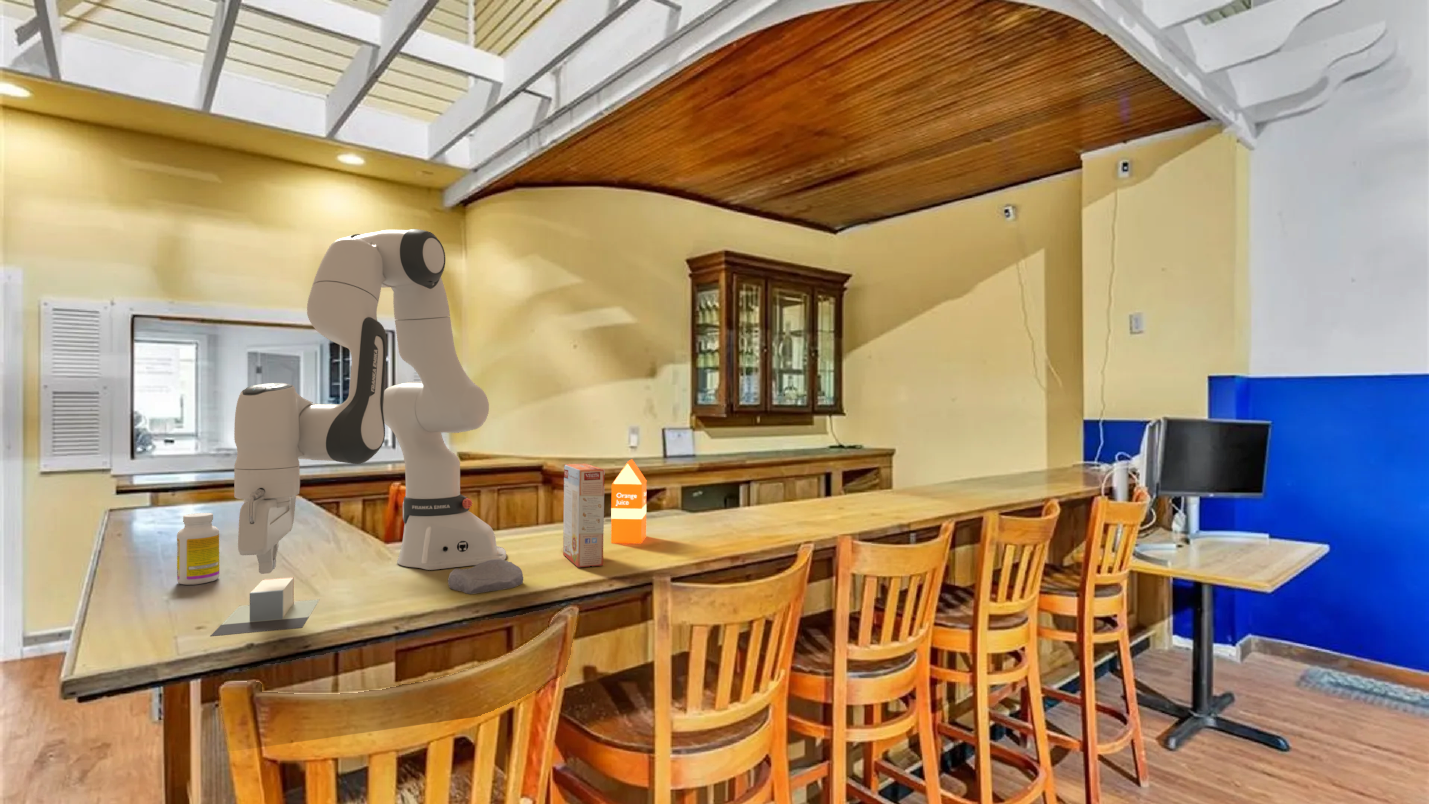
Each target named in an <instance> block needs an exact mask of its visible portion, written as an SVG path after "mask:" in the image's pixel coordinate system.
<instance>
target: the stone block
mask: <svg viewBox="0 0 1429 804" xmlns="http://www.w3.org/2000/svg"><path fill="white" fill-rule="evenodd" d="M448 575H449V576H448V579H447V584H448V586H449V589H450V590H454V591H458V592H463V593H465V594H466V595H467V594H468V595H474V594H481V593H482V594H483V593H488V592H494V591H495V592H497V591H501V590H507V589H513V588H516V587H518V586H521V585H523V582H524V574H523V570H522V568H520V566H518V565H516V564H514V563H513V562H512V561H508V560H506V559H504V560H501V559H493V560H488V561H486V562H483V563H479V564H477V565H473V566H472V567H471V568H461V569H460V568H459V567H456V568H454V569H453V570H452V571H451V572H450V573H449V574H448Z"/></svg>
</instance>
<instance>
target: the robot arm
mask: <svg viewBox="0 0 1429 804" xmlns="http://www.w3.org/2000/svg"><path fill="white" fill-rule="evenodd" d="M445 268H446V252H445V249H444V247H443V244H442V242H441V241H440V240H439V239H438V238H437V236H436V235H435V234H434V233H433V232H431V231H427V230H424V229H416V228H412V229H411V228H410V229H383V230H380V231H374V232H368V233H363V234H359V233H356V234H352V235H349V236H345V237H341V238H339V239H336V240H335V241H333V242H332V243H331V244H330V245H329V247H328V249H327V251H326V252H325V254H324V256H323V258H322V260H321V262H320V264H319V266H318V268H317V271H316V273H315V276H314V279H313V282H312V286H311V289H310V292H309V295H308V299H307V306H306V315H307V319H308V320H309V322H310V324H311V326H312V327H313V328H314V329H315V330H316V331H317V332H318V333H319V334H320V335H321V336H322V337H324V338H326V339H327V340H329V341H330V342H331V341H332V342H333V343H335V344H337V345H339V346H341V347H343V348H347V349H348V350H349V351H350V355H351V368H350V377H349V378H350V380H349V390H348V396H347V398H346V399H345V400H344V401H343V402H342V403H340V404H337V403H335V404H330V403H329V404H328V403H324V404H323V403H313V401H310V400H308V399H305V397H302V396H301V395H300V394H299V393H297V391H296V387H295V386H294V385H293V384H289V383H286V382H285V383H284V382H270V383H260V384H254V385H250V386H248V387H245V388H244V389H242V390H241V391H240V394H239V395H238V398H237V400H236V401H237V402H236V407H235V414H234V426H233V427H234V430H233V431H234V436H233V438H234V439H233V440H234V444H235V446H236V450H237V454H236V455H237V456H236V460H235V463H234V466H233V467H234V468H233V469H234V471H233V473H234V477H233V479H234V480H233V481H234V486H233V487H234V491H233V493H234V494H233V495H234V498H235V499H238V500H239V499H240V500H243V504H242V505H241V508H240V510H239V517H238V518H239V519H238V533H237V534H238V535H237V550H238V552H239V555H240V556H256V559H257V562H258V572H259V574H260V575H262V574H270V573H272V571H274V570H275V569H276V567H277V556H278V555H277V554H278V550H279V542H280V541H281V540H282V539H283V538H285V536H287V535H288V534H289V533H290V532H291V531H292V529H293V525H294V523H295V522H294V521H295V512H296V501H297V500H296V498H297V496H298V495H299V494H300V489H301V488H300V487H301V478H300V466H301V465H300V460H311V461H325V462H326V461H328V462H329V461H330V462H331V461H332V462H337V463H338V462H339V463H347V464H353V465H360V464H364V463H366V462H367V461H369V460H371V458H373V457H374V456H376V454H377V453H379V452H378V451H379V450H381V448H382V446H383V445H384V442H385V437H386V426H387V427H388V428H389V429H390V430H391V431H392V433H393V434H394V436H395V438H396V440H397V442H398V444H399V447H400V449H401V452H402V456H403V460H404V471H405V472H404V473H405V496H404V497H403V502H402V520H403V524H404V526H403V535H402V543H401V546H400V552H399V555H398V558H397V561H396V563H397V564H398V565H400V566H403V567H407V568H408V567H409V568H419V569H423V570H426V571H428V570H429V571H430V570H431V571H433V570H440V569H441V570H442V569H443V570H444V569H453V568H459V567H468V566H470V567H471V566H476V565H477V564H479V563H483V562H486V561H488V560H493V559H501V560H506V559H507V551H506V549H505V548H503V547H501V546H498V545H497V540H496V536H495V535H496V534H495V532H494V530H493V528H492V527H491V525H489V524H488V523H487V522H485V521H483V520H482V519H481V518H479V517H478V516H476V515H475V514H474V513H472V512H471V511H469V510H470V509H471V507H473V501H472V498H471V499H470V498H469V497H467V496H465V495H463V494H462V493H461V461H460V459H459V458H458V457H459V456H457V454H455V453H454V452H453V451H452V450H450V449H449V448H448V446H447V445H446V443H445V441H444V439H443V436H442V433H449V434H450V433H451V434H453V433H454V434H459V433H464V432H470V431H473V430H477V429H479V428H481V427H482V426H483V425H484V423H485V422H486V420H487V419H488V415H489V412H490V411H489V410H490V403H489V400H488V399H489V398H488V396H487V395H486V392H485V391H484V390H483V388H482V387H480V386H479V385H477V384H476V383H475V382H473V380H472V379H471V378H470V377H469V375H468V374H467V373H466V371H465V370H464V368H463V367H462V364H461V362H460V360H459V357H458V355H457V351H456V347H455V343H454V334H453V329H452V323H451V322H452V321H451V320H452V319H451V314H450V306H449V301H448V297H447V293H446V289H445V286H444V285H445V284H444V281H443V279H442V275H443V273H444V270H445ZM382 288H391V290H392V292H393V295H392V296H393V302H392V303H393V316H394V317H393V318H394V326H395V331H396V340H397V341H396V342H397V348H398V353H399V356H400V358H401V359H402V360H403V361H404V362H405V363H406V364H408V365H410V366H411V367H412V368H413V369H414V370H415V372H416V373H417V375H418V376H419V378H420V379H419V380H420V381H408V382H402V383H398V384H394V385H391V386H389V387H387V388H386V389H385V387H386V386H385V384H386V374H387V373H386V371H387V354H388V353H387V351H388V345H387V344H388V340H387V338H388V337H387V334H386V329H385V328H384V325H383V324H381V322H379V321H378V317H377V311H378V306H379V305H378V304H379V301H380V298H381V297H380V295H381V292H382Z"/></svg>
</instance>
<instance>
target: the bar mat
mask: <svg viewBox="0 0 1429 804" xmlns="http://www.w3.org/2000/svg"><path fill="white" fill-rule="evenodd" d="M319 601H320V599H308V600H307V599H305V600H294V604H293V605H292V606H291V608H290V609H289V610H288V612H287V613H286V615H285V616H284V617H283V619H276V620H264V621H253V622H250V604H245V605H239V606H238V607H237V608H235V610H234V611H233V612H232V613H231V614H229V616H228V617H227V618H226V619H225V620H224V621H223V622H222V623H221V624H220V625H219V626H218V628H216V629H215V630H214V631H213V633H211V634H210V637H218V636H229V635H230V636H231V635H240V634H241V635H242V634H250V633H251V634H252V633H261V632H271V631H272V632H273V631H274V632H275V631H284V630H295V629H302V628H303V627H304V626H305V625H306V622H307V621H308V620H309V618H310V616H311V614H312V612H313V611H314V609H315V608H316V606H317V604H318V603H319Z"/></svg>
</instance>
